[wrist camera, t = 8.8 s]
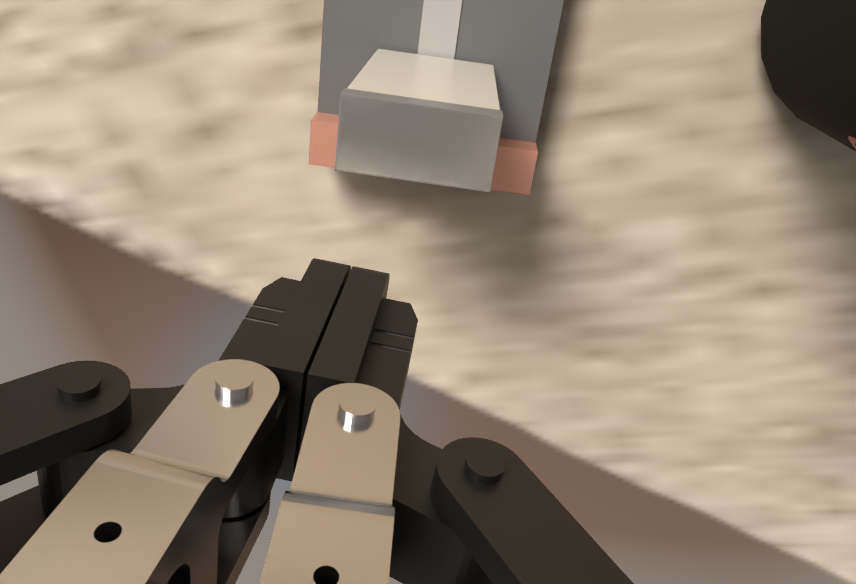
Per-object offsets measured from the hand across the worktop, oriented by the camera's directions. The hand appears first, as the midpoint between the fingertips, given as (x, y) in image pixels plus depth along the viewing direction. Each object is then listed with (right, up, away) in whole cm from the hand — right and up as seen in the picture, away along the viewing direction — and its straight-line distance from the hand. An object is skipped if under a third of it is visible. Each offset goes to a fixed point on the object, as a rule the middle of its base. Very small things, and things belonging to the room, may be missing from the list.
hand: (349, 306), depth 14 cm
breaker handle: (+2, +9, +17) cm, 20 cm away
